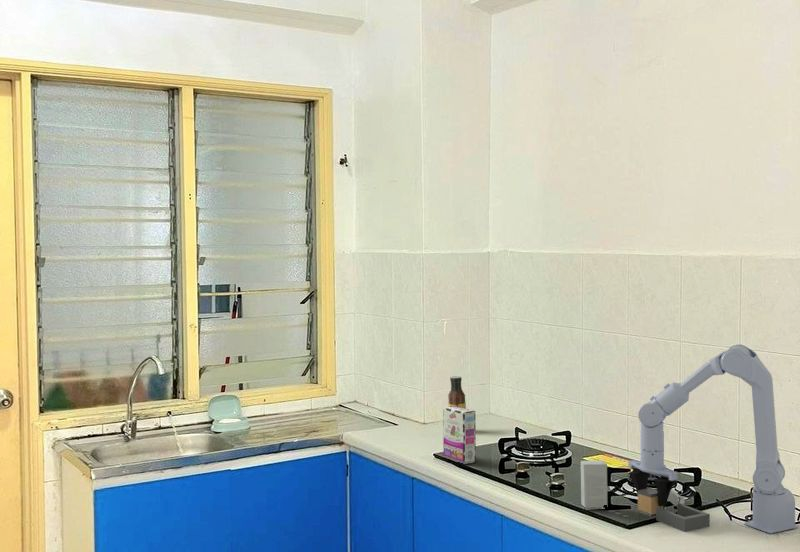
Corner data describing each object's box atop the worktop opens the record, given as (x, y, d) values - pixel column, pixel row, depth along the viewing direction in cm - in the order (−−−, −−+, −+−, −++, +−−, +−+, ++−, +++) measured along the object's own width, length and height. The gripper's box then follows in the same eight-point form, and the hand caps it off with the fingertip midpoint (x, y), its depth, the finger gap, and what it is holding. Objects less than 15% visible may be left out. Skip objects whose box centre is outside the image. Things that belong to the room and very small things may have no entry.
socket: (681, 512, 227) (681, 500, 227) (715, 525, 217) (715, 513, 217) (650, 518, 223) (650, 506, 223) (684, 531, 213) (684, 519, 212)
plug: (649, 508, 231) (649, 487, 231) (663, 513, 227) (663, 491, 227) (637, 511, 229) (637, 490, 228) (651, 516, 225) (651, 494, 225)
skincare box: (603, 505, 234) (603, 459, 234) (607, 510, 230) (607, 464, 229) (580, 505, 234) (580, 460, 233) (584, 510, 230) (584, 464, 229)
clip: (685, 513, 225) (685, 497, 225) (679, 513, 225) (679, 497, 225) (665, 497, 239) (665, 482, 238) (659, 497, 239) (659, 482, 238)
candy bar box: (476, 463, 279) (476, 410, 278) (464, 465, 276) (463, 412, 275) (455, 455, 288) (454, 405, 288) (442, 458, 286) (442, 407, 285)
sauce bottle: (467, 429, 326) (466, 375, 325) (466, 433, 320) (466, 378, 319) (449, 429, 327) (448, 375, 326) (448, 433, 321) (447, 378, 320)
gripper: (685, 452, 223) (685, 506, 224) (641, 441, 236) (641, 492, 236) (666, 456, 220) (666, 511, 220) (622, 445, 232) (622, 497, 233)
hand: (652, 502), depth 228 cm, fingers open, 6 cm apart
